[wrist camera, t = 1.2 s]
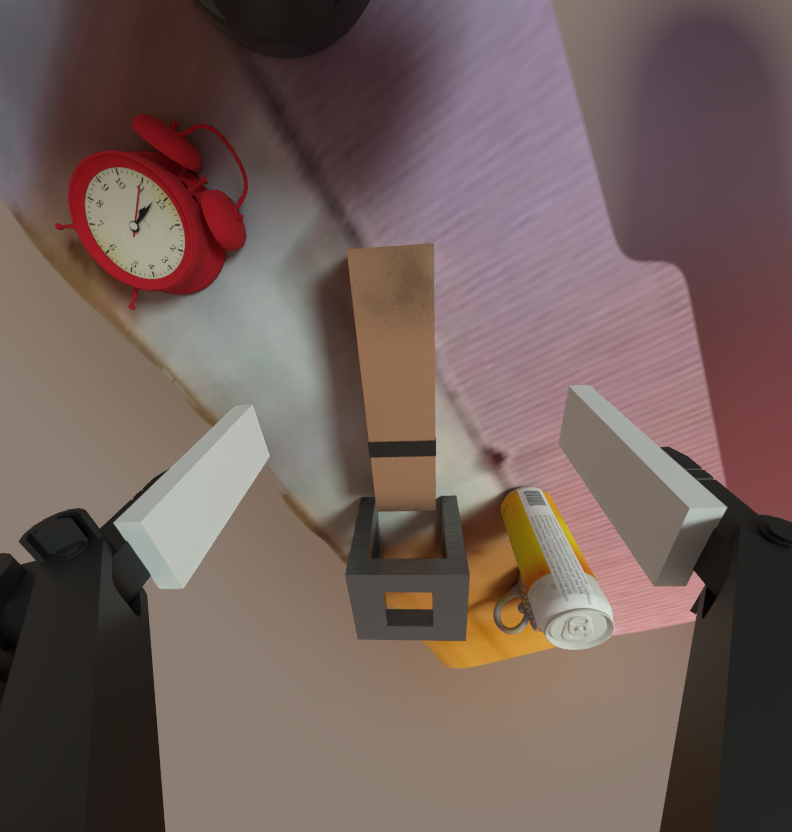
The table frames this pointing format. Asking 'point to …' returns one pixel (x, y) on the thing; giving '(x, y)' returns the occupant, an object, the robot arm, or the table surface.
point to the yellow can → (555, 572)
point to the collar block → (408, 582)
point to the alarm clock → (155, 212)
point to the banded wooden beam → (397, 370)
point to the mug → (523, 608)
